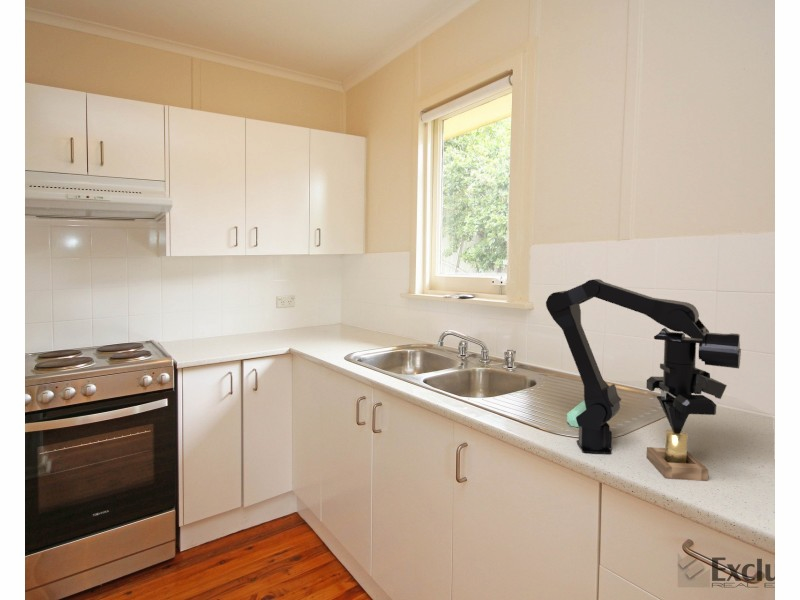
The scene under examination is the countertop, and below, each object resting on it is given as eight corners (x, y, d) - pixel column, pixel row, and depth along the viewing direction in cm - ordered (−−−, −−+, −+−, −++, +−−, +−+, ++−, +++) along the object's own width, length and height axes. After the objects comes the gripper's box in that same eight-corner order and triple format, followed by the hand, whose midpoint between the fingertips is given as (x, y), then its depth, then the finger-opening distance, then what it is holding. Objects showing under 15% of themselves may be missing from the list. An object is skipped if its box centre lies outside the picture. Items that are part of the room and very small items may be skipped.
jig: (665, 478, 93) (665, 466, 93) (646, 457, 103) (646, 447, 103) (707, 480, 92) (707, 469, 92) (684, 459, 102) (684, 448, 101)
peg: (669, 472, 96) (670, 436, 95) (661, 463, 100) (662, 429, 99) (689, 473, 95) (691, 437, 94) (680, 464, 99) (682, 429, 98)
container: (579, 407, 120) (606, 385, 139) (559, 411, 124) (588, 389, 143) (588, 429, 119) (614, 404, 138) (567, 432, 123) (595, 407, 142)
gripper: (748, 373, 85) (744, 453, 86) (698, 353, 103) (695, 419, 105) (684, 372, 87) (681, 450, 88) (646, 352, 105) (644, 417, 106)
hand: (676, 433), depth 97 cm, fingers closed, pressing on peg
